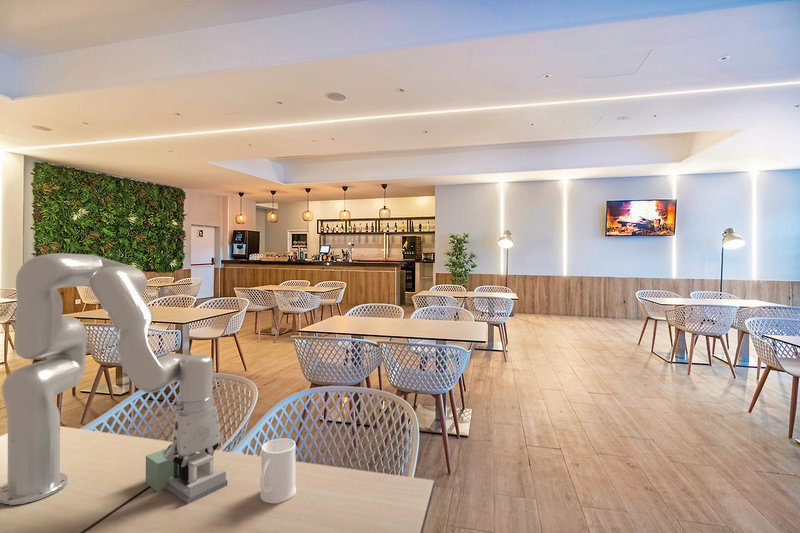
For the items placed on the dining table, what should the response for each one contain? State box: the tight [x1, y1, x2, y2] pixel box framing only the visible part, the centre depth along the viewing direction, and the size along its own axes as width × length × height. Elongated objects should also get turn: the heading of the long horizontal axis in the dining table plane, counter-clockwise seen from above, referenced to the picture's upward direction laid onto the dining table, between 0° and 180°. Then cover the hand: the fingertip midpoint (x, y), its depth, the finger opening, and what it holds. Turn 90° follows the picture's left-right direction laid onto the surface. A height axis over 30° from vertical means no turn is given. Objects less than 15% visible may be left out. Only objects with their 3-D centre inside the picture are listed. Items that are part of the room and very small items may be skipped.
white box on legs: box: [178, 451, 214, 484], centre depth 100 cm, size 8×5×5 cm, turn 54°
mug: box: [259, 437, 297, 504], centre depth 95 cm, size 12×8×12 cm
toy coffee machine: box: [145, 443, 228, 505], centre depth 102 cm, size 18×14×8 cm
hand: (195, 474), depth 100 cm, fingers closed on white box on legs, 4 cm apart
